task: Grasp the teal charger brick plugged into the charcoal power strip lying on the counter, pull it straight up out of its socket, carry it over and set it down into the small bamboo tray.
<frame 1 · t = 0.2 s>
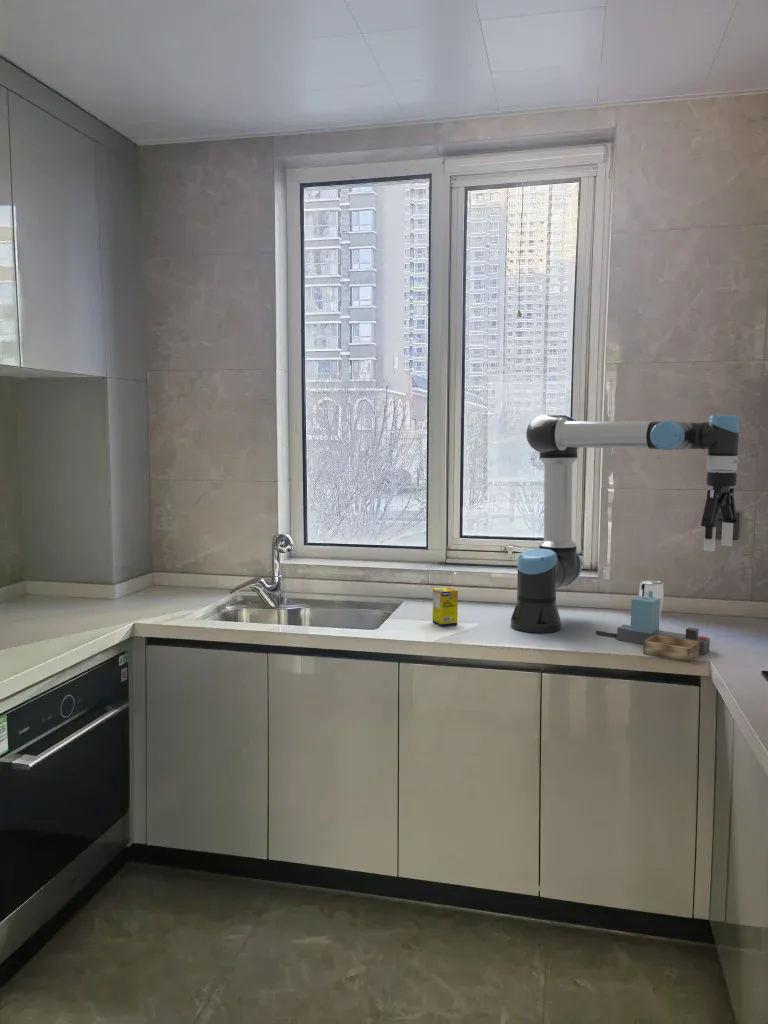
hand: (717, 548, 212), 27 cm above the worktop, fingers open, 13 cm apart
tray: (671, 654, 206), on the worktop
supplement box: (444, 624, 238), on the worktop
charger: (644, 630, 217), point 3 cm above the worktop, touching power strip
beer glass: (649, 632, 230), on the worktop
power strip: (661, 645, 214), on the worktop
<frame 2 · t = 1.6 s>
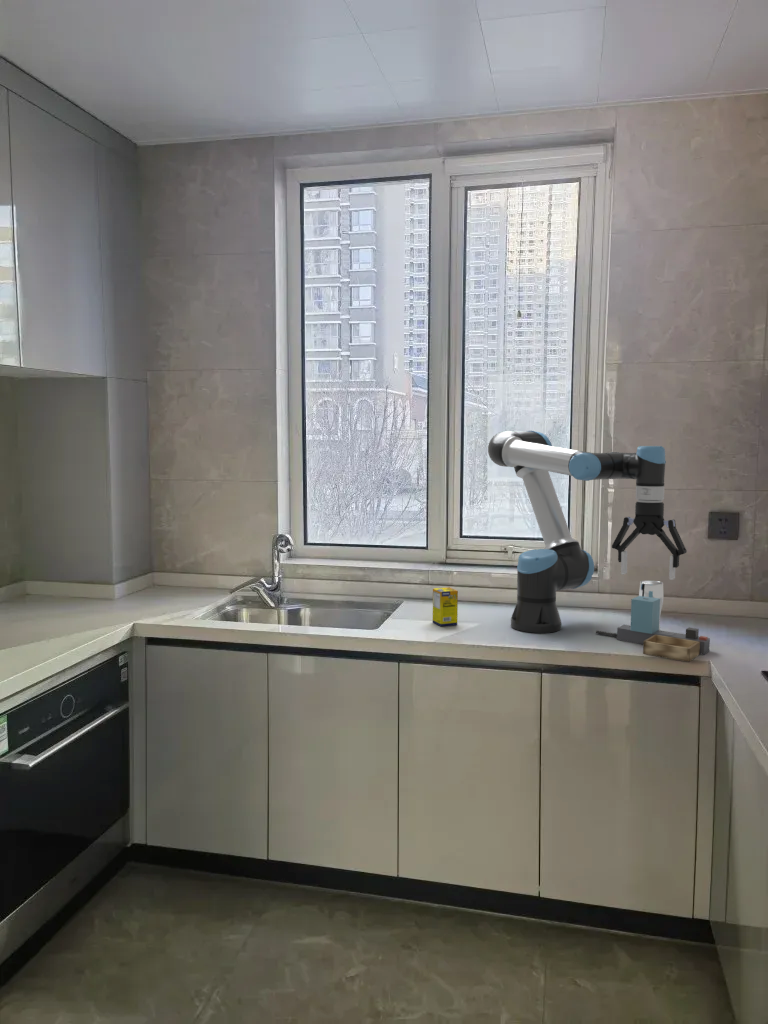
hand: (647, 576, 216), 19 cm above the worktop, fingers open, 13 cm apart
nothing on the worktop moved.
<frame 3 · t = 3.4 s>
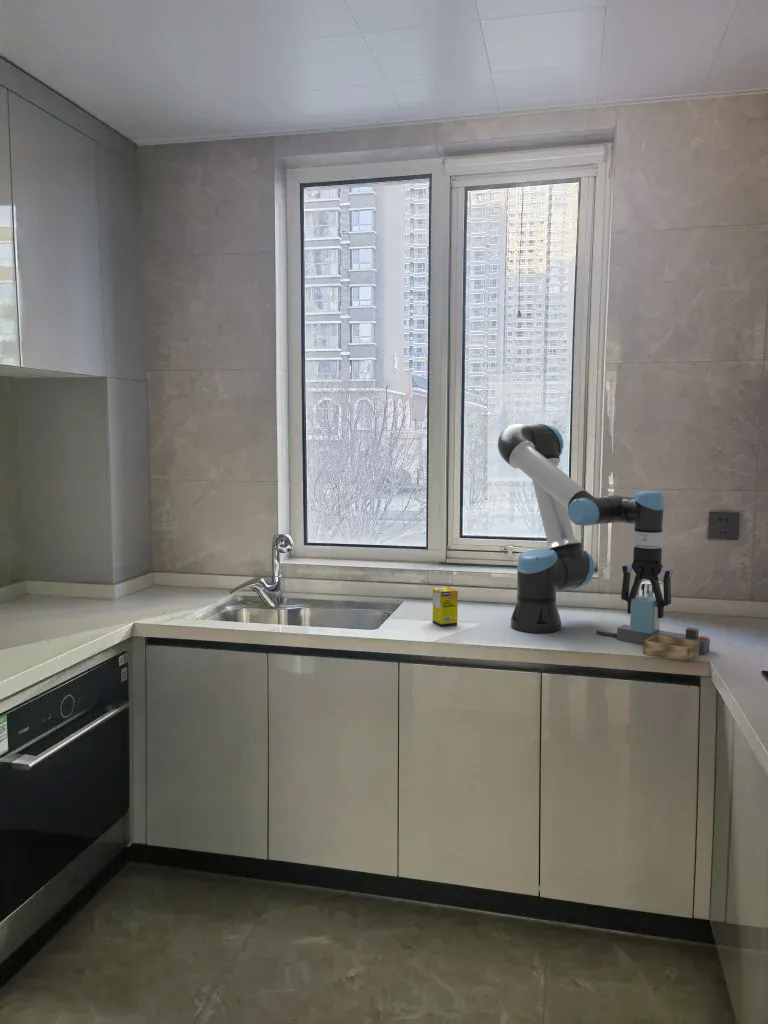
hand: (644, 626, 217), 4 cm above the worktop, fingers closed on charger, 6 cm apart
charger: (644, 630, 217), point 4 cm above the worktop, touching gripper, power strip
everything else where it was.
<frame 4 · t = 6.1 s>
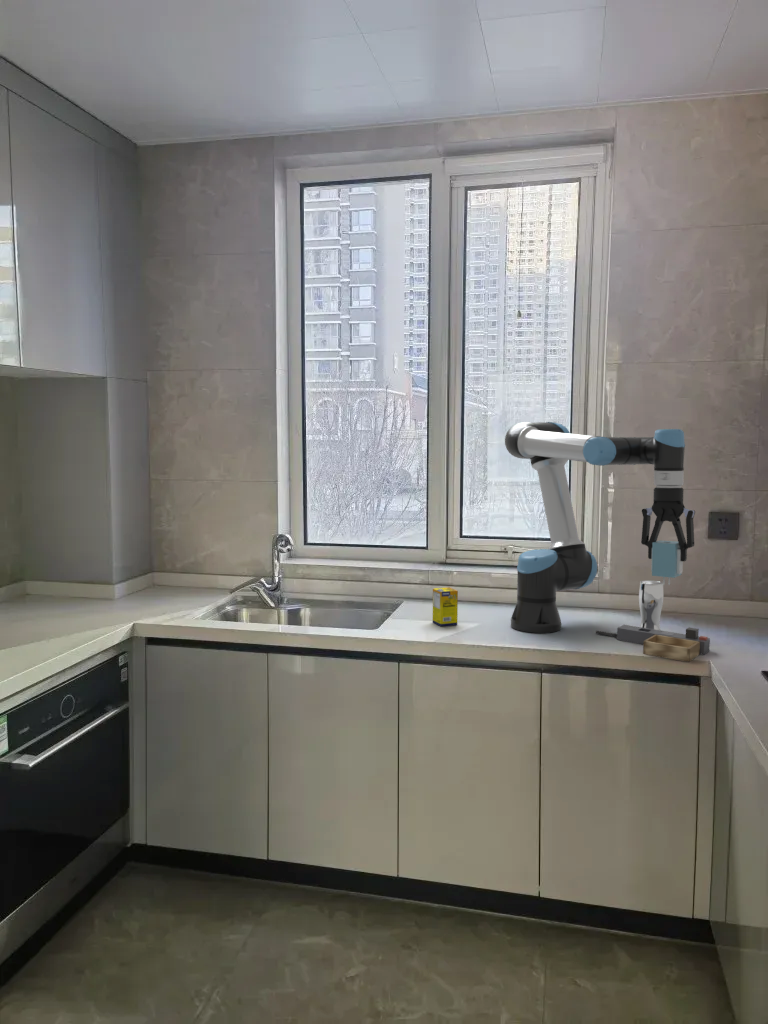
hand: (666, 572, 207), 22 cm above the worktop, fingers closed on charger, 6 cm apart
charger: (666, 575, 207), point 21 cm above the worktop, touching gripper
everything else where it was.
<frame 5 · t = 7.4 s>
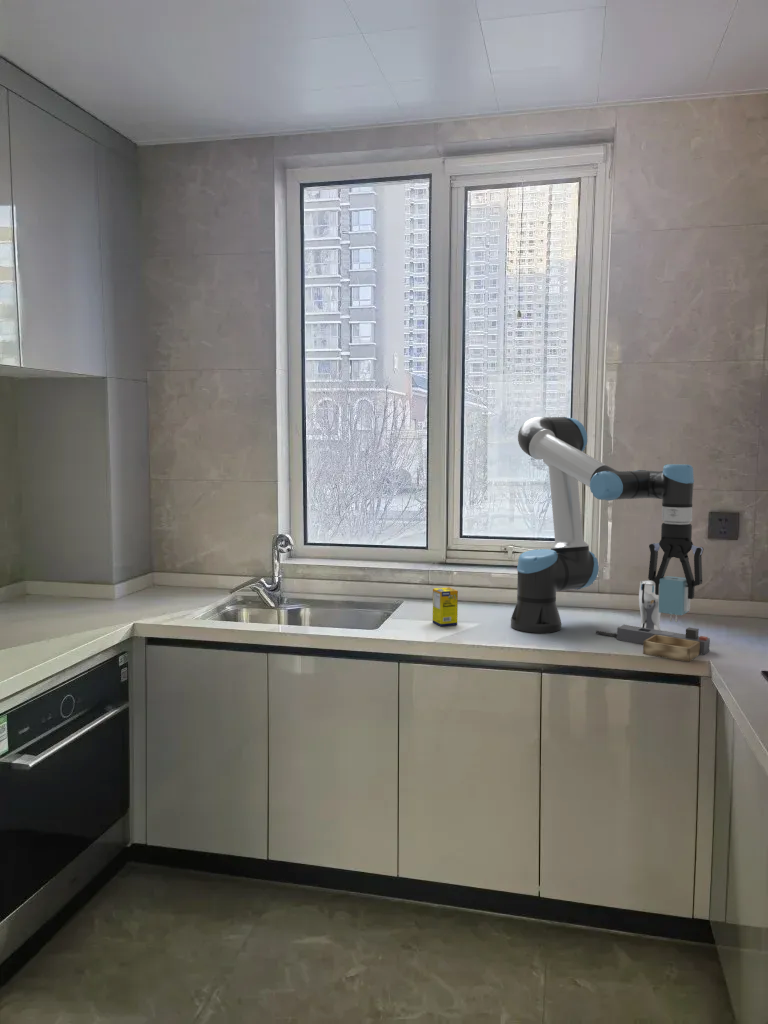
hand: (673, 608, 204), 12 cm above the worktop, fingers closed on charger, 6 cm apart
charger: (673, 611, 204), point 12 cm above the worktop, touching gripper
everything else where it was.
when the fingers open (5 cm above the worktop, at t = 8.6 s): charger stays where it is, resting on tray.
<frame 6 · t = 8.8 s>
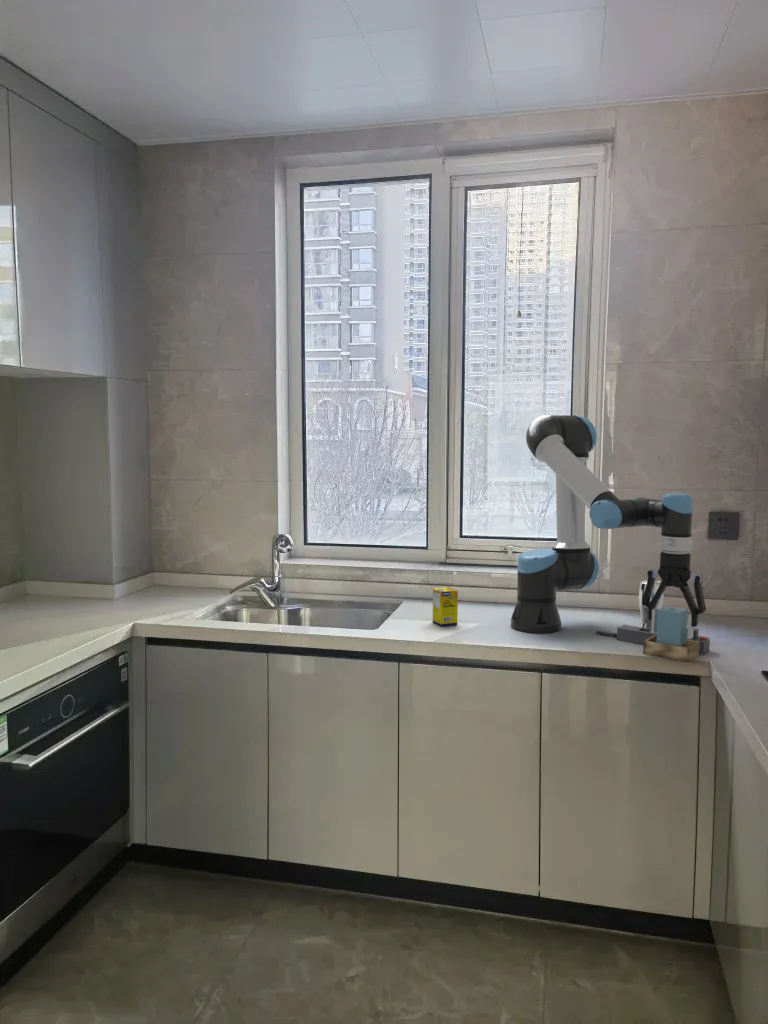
hand: (672, 635, 205), 5 cm above the worktop, fingers open, 9 cm apart
charger: (671, 642, 205), point 3 cm above the worktop, touching tray
everything else where it was.
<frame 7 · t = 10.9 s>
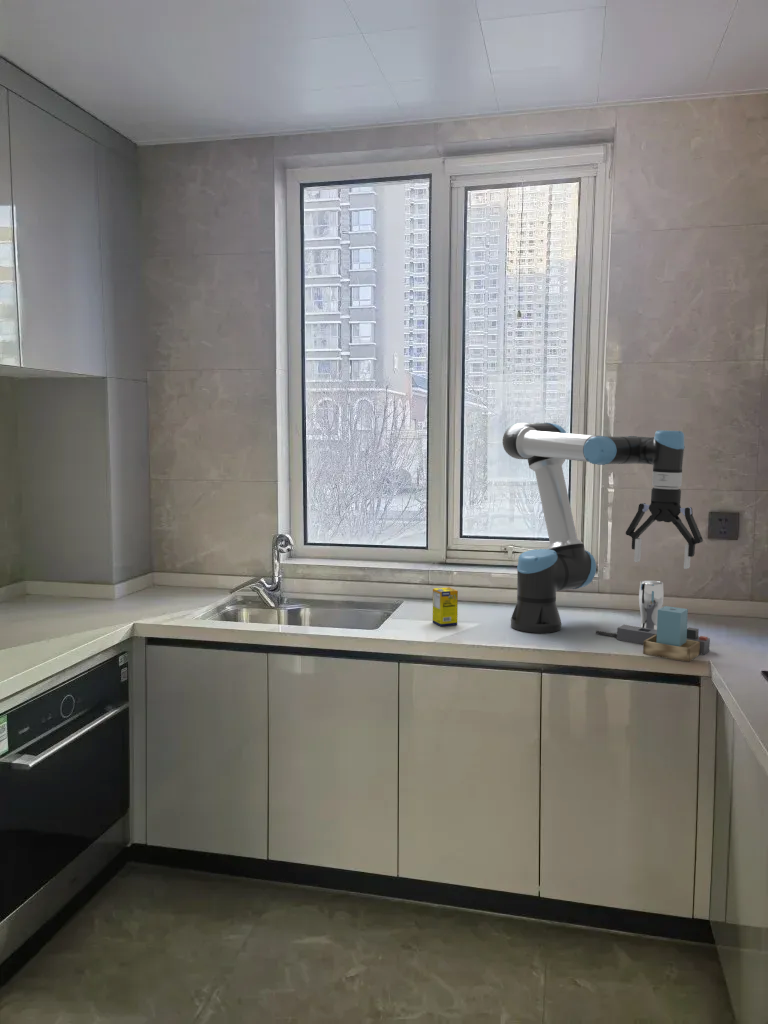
hand: (661, 564, 210), 23 cm above the worktop, fingers open, 13 cm apart
nothing on the worktop moved.
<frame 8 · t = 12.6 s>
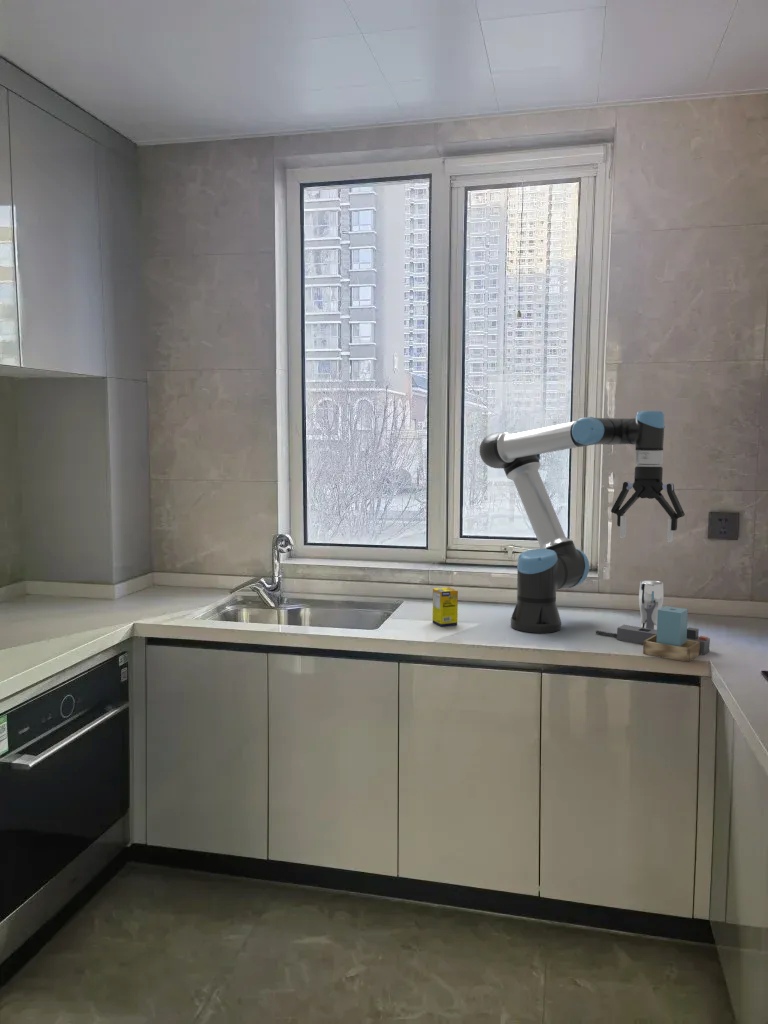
hand: (645, 540, 219), 29 cm above the worktop, fingers open, 13 cm apart
nothing on the worktop moved.
at the end: charger inside the target area on the tray (0.1 cm from its centre), point 3.2 cm above the tray's base; charger touching tray; the gripper is holding nothing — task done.
